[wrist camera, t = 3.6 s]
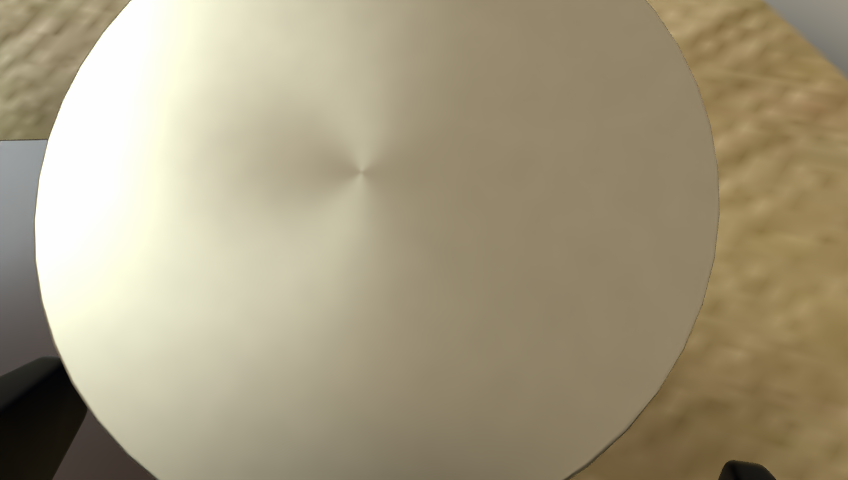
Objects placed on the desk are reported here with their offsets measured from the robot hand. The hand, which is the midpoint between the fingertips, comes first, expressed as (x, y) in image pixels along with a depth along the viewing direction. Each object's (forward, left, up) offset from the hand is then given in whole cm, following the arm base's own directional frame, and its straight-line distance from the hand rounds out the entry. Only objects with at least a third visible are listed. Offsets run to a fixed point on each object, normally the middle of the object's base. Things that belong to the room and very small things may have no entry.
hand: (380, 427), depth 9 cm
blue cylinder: (+4, -1, -9) cm, 10 cm away
